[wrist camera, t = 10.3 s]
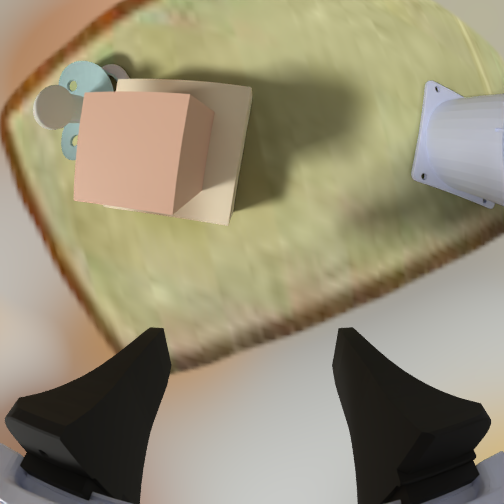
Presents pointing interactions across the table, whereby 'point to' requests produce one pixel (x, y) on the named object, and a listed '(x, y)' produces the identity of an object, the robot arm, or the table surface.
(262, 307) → the table surface
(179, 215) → the birch block
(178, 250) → the table surface
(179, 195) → the terracotta block
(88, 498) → the robot arm
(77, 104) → the pacifier
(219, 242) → the table surface
